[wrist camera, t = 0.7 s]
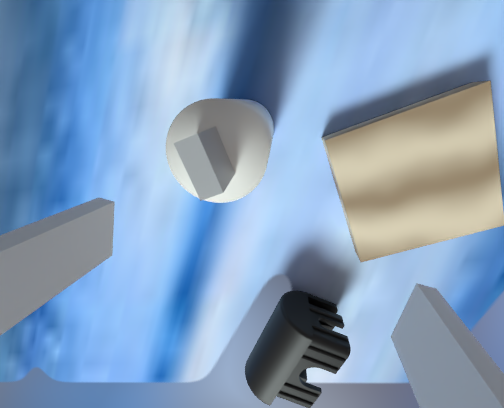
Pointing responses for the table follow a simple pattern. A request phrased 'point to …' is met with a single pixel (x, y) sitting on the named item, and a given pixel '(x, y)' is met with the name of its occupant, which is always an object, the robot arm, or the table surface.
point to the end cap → (296, 349)
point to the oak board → (419, 173)
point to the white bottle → (220, 148)
